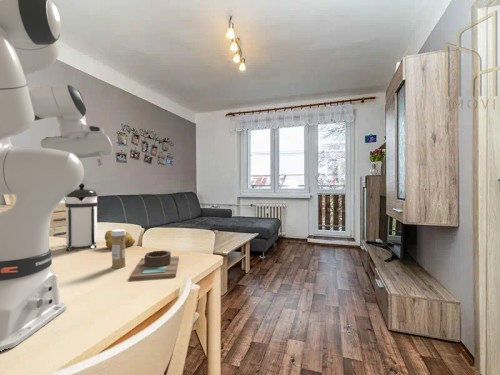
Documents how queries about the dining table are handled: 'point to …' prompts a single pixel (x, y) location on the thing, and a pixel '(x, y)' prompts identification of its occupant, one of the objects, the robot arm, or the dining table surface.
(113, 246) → the sprinkles bottle
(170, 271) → the socket board
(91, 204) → the coffee press
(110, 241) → the bread roll
